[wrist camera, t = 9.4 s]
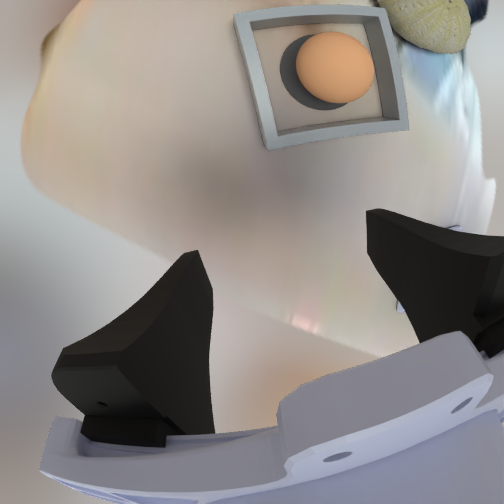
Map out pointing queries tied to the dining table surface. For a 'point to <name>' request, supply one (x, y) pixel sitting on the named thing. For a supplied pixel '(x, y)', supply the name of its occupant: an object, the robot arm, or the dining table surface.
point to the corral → (297, 15)
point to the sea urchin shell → (430, 23)
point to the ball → (335, 67)
